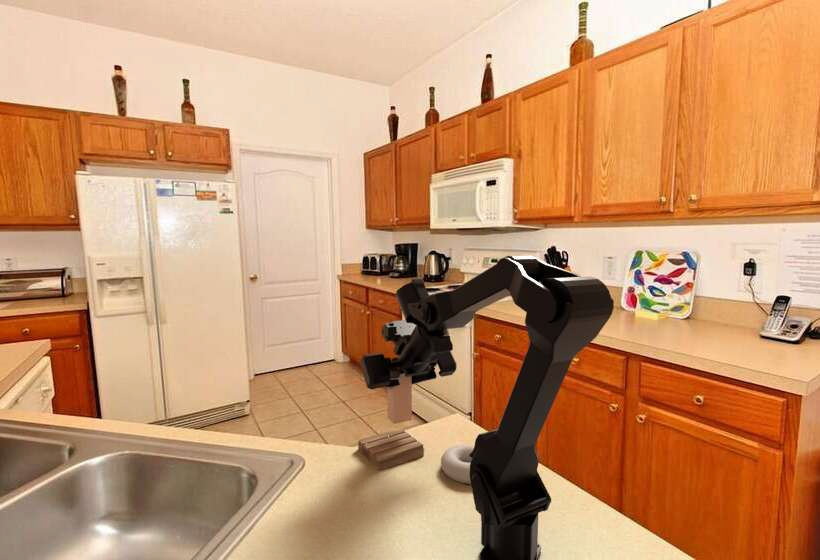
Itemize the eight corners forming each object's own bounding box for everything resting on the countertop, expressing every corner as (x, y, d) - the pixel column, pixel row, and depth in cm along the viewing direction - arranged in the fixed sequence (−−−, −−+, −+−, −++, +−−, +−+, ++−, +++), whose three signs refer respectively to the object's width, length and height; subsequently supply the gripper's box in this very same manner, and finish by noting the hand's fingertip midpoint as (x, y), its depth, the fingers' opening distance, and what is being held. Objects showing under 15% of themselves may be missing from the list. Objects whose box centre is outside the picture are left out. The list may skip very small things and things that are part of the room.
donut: (457, 494, 67) (507, 479, 71) (457, 474, 67) (507, 461, 71) (431, 464, 76) (476, 453, 80) (431, 447, 76) (476, 436, 80)
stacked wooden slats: (423, 455, 79) (423, 445, 79) (378, 470, 73) (378, 459, 73) (400, 437, 86) (400, 427, 86) (358, 449, 81) (358, 439, 81)
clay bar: (411, 419, 81) (411, 367, 81) (394, 423, 79) (393, 369, 79) (404, 414, 84) (404, 363, 83) (387, 418, 82) (387, 365, 81)
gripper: (449, 305, 81) (421, 347, 91) (362, 312, 72) (343, 357, 83) (472, 352, 75) (440, 391, 85) (381, 366, 66) (357, 408, 76)
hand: (396, 385), depth 82 cm, fingers closed on clay bar, 4 cm apart
